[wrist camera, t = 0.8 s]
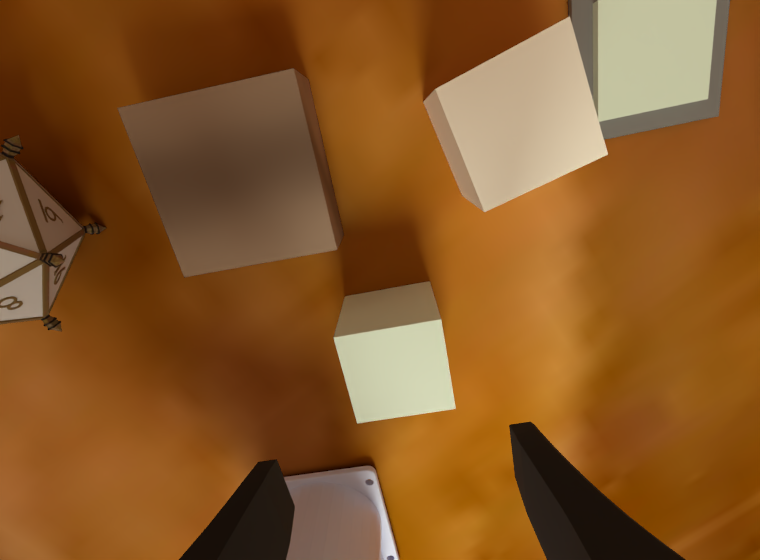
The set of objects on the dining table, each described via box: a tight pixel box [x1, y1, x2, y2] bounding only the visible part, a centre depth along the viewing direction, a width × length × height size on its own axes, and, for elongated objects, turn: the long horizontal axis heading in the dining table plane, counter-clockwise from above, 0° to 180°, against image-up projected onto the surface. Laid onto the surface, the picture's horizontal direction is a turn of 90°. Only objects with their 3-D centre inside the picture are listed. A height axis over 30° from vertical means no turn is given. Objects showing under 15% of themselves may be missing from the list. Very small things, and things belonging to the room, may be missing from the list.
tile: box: [568, 0, 730, 139], centre depth 15 cm, size 6×6×1 cm
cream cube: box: [423, 16, 608, 212], centre depth 15 cm, size 4×4×4 cm
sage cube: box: [334, 281, 456, 423], centre depth 18 cm, size 4×4×4 cm
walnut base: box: [118, 68, 344, 277], centre depth 17 cm, size 7×7×3 cm
